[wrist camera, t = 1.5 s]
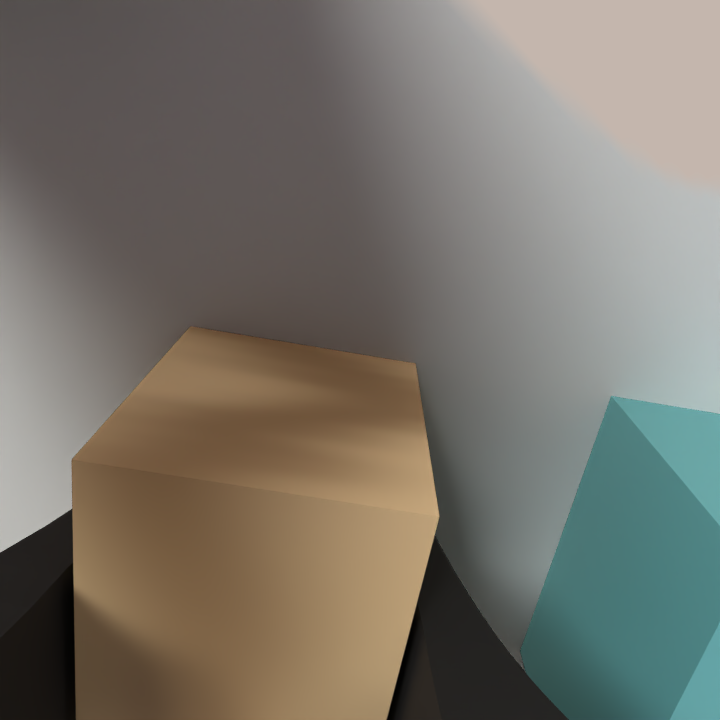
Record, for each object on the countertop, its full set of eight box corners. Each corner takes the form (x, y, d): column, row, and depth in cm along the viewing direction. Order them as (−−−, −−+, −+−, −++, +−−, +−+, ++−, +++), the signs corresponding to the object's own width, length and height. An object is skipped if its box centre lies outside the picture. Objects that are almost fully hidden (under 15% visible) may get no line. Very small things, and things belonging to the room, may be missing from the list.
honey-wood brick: (415, 363, 12) (438, 516, 7) (358, 625, 15) (349, 861, 10) (190, 325, 12) (71, 460, 7) (173, 598, 14) (77, 824, 10)
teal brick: (821, 428, 12) (1085, 614, 8) (695, 673, 15) (837, 921, 10) (609, 393, 12) (750, 562, 8) (519, 647, 15) (582, 887, 10)
